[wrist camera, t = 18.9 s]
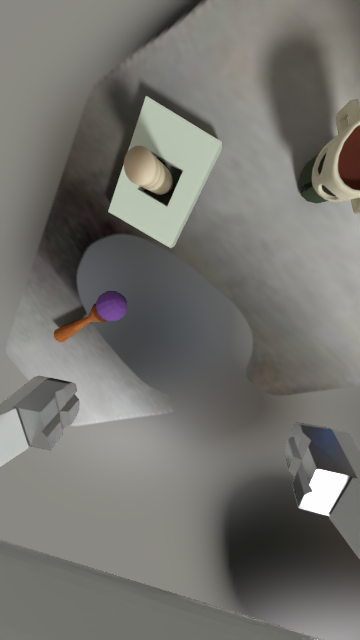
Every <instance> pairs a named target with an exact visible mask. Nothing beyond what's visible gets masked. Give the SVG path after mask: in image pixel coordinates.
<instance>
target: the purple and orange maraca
mask: <svg viewBox="0 0 360 640" xmlns="http://www.w3.org/2000/svg"><path fill="white" fill-rule="evenodd" d="M126 311H127V301H126V299H125V297H124V296H123V295H121V294H120V293H118V292H116V291H107V292H105V293H103V294H102V295H100V296H99V298H98V300H97V302H96V304H94V305H93V307H92V309H91V312H90V314H89V316H88V317H86V318H84V319H81V320H79V321H76V322H74V323H71V324H69V325H66V326H64V327H61V328H59V329H57V330H55V332H54V337H55V339H56V340H57V341H59V342H65V341H66V340H67V339H69V338H70V337H71V336H73V335H74V334H75V333H76V332H78V331H79V330H80V329H82V328H83V327H84V326H85V325H87V324H88V323H89V322H91V321H96V322H106V321H107V320H108V321H116V320H119V319H121V318H122V317H123V316H124V315H125V313H126Z"/></svg>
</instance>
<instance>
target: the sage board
mask: <svg viewBox="0 0 360 640" xmlns="http://www.w3.org/2000/svg"><path fill="white" fill-rule="evenodd" d="M135 146H143V147H145V148H147V149H148V150H149V151H150V152H151V153H152V154H153V155H154V156H155V157H156V158H157V157H158V158H159V159H161V160H163V161H164V162H166V163H168V164H169V165H171V166H173V167H174V168H176V169H178V170H179V171H181V172H182V174H181V177H180V179H179V181H178V183H177V186H176V188H175V190H174V193H173V195H172V197H171V199H170V202H169V204H168V206H167V205H165V204H164V203H162V202H160V201H159V200H157V199H155V198H153V197H152V196H150V195H148V194H147V193H145V192H144V190H145V188H143V187H141V186H139V185H136V184H134V183H133V182H131V181H130V180H129V179H128V177H127V176H126V173H125V170H124V165H123V168H122V171H121V174H120V177H119V180H118V183H117V186H116V189H115V192H114V195H113V198H112V202H111V205H110V208H109V211H108V212H110V213H111V214H113V215H115V216H117V217H118V218H120V219H122V220H123V221H125V222H127V223H129V224H130V225H132V226H134V227H135V228H137V229H139V230H141V231H142V232H144V233H146V234H147V235H149V236H151V237H153V238H154V239H156V240H158V241H159V242H161V243H163V244H165V245H166V246H168V247H170V248H172V247H174V246H175V244H176V242H177V240H178V238H179V236H180V233H181V231H182V229H183V227H184V225H185V223H186V221H187V219H188V217H189V215H190V213H191V211H192V209H193V207H194V205H195V203H196V201H197V199H198V197H199V195H200V193H201V191H202V189H203V187H204V185H205V183H206V180H207V178H208V176H209V174H210V172H211V170H212V168H213V166H214V164H215V162H216V160H217V158H218V156H219V154H220V152H221V150H222V142H221V141H219V140H218V139H216V138H214V137H213V136H211V135H209V134H208V133H206V132H205V131H203V130H201V129H200V128H198V127H196V126H195V125H193V124H191V123H190V122H188V121H187V120H185V119H183V118H182V117H180V116H178V115H177V114H175V113H174V112H172V111H170V110H169V109H167V108H165V107H164V106H162V105H160V104H159V103H157V102H156V101H154V100H152V99H151V98H149V97H147V96H146V97H145V100H144V104H143V107H142V110H141V113H140V116H139V119H138V122H137V125H136V128H135V131H134V134H133V137H132V140H131V143H130V146H129V149H128V151H129V150H130V149H131V148H132V147H135Z"/></svg>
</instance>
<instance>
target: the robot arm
mask: <svg viewBox="0 0 360 640" xmlns="http://www.w3.org/2000/svg"><path fill="white" fill-rule="evenodd" d="M76 392H77V387H76V384H75V383H73V382H68V381H63V380H59V379H54V378H48V377H43V376H37V377H34V378H33V379H31V380H30V381H29V382H28V383H26V384H25V385H24V386H23V387H21V388H20V389H19V390H17V391H16V392H15V393H14V394H12V395H11V396H10V397H9V398H7V399H6V400H5V401H4V402H2V403H1V404H0V466H2V465H3V464H5V463H6V462H8V461H9V460H11V459H12V458H14V457H15V456H17V455H18V454H20V453H21V452H23V451H24V450H26V449H28V448H29V446H31V447H36V448H41V449H46V450H51V449H52V448H53V447H54V446H55V444H56V443H57V442H58V440H59V439H60V438H61V437H62V435H63V428H65V427H67V426H69V425H70V424H72V422H73V421H74V419H75V418H76V416H77V414H78V411H79V405H80V404H79V399H78V398H77V397H76V396H75V393H76ZM292 433H293V437H291V438H289V439H288V441H287V445H286V462H287V466H288V470H289V471H290V472H291V473H292V475H294V477H295V478H294V481H293V483H292V486H293V489H294V493H295V496H296V500H297V504H298V508H301V509H305V510H309V511H312V512H316V513H320V514H324V515H328V516H329V518H330V520H331V521H332V522H333V524H334V525H335V526H336V528H337V529H338V531H339V532H340V533H341V534H342V536H343V537H344V539H345V540H346V541H347V543H348V544H349V545H350V547H351V548H352V549H353V551H354V552H355V554H356V555H357V556H358V558H359V559H360V450H359V448H358V447H357V445H356V443H355V442H354V440H353V438H352V437H351V435H350V434H349V433H348V432H347V431H346V430H340V429H334V428H327V427H322V426H316V425H310V424H304V423H298V422H296V423H295V424H294V425H293V428H292ZM0 640H324V639H321V638H318V637H314V636H311V635H308V634H305V633H301V632H298V631H295V630H292V629H288V628H285V627H282V626H279V625H275V624H272V623H269V622H266V621H262V620H259V619H256V618H253V617H250V616H246V615H243V614H240V613H236V612H233V611H230V610H226V609H224V608H220V607H217V606H213V605H211V604H207V603H204V602H200V601H198V600H195V599H191V598H188V597H185V596H181V595H178V594H175V593H172V592H169V591H165V590H162V589H159V588H156V587H152V586H149V585H146V584H143V583H139V582H136V581H133V580H130V579H127V578H123V577H120V576H117V575H114V574H110V573H107V572H104V571H101V570H97V569H94V568H91V567H88V566H84V565H81V564H78V563H75V562H72V561H68V560H64V559H61V558H59V557H55V556H52V555H49V554H45V553H42V552H39V551H36V550H33V549H29V548H26V547H23V546H19V545H16V544H13V543H10V542H7V541H3V540H0Z"/></svg>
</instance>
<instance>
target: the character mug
mask: <svg viewBox="0 0 360 640" xmlns="http://www.w3.org/2000/svg"><path fill="white" fill-rule="evenodd" d="M347 116H348V119H347ZM348 120H349V124H348ZM336 125H337V130H338V135H337V136H336V137H334V138H333V139H332V140H331V141H330V142H328V143H327V144H326V145H325V146H324V147H323V149H322V150H321V152H320V154H319V155H317V156H316V157H314V158H313V159H312V160H311V161H309V162H308V163H307V164H306V166H305V168H304V169H303V171H302V172H301V174H300V179H299V184H298V185H299V187H300V186H302V185H304V189H305V191H303V192H301V196H302V197H304V198H305V199H306V200H307V201H309V202H313V203H321V202H325V201H332V202H340V201H346V200H351V202H352V207H353V211H354V213H355V214H360V106H359V102H358V100H357V99H355V100H351V101H349V102H348V103H347V104H346V105H345V106H344V107H343V108H342V109H341V110H340V111H339V113H338V114H337V116H336Z"/></svg>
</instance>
